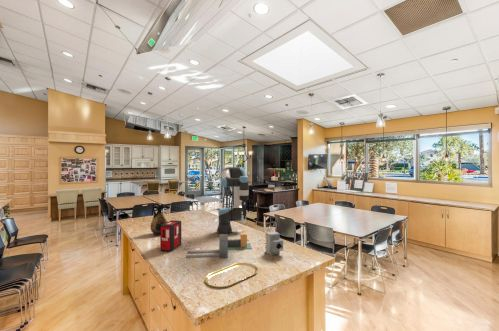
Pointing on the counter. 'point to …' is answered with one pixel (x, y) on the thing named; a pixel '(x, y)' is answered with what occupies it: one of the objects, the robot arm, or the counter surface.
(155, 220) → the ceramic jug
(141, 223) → the counter surface
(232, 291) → the counter surface
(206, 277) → the gold oval ring
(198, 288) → the counter surface
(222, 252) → the housing
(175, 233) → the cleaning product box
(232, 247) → the mat
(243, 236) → the plug
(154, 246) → the counter surface
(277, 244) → the circuit breaker
